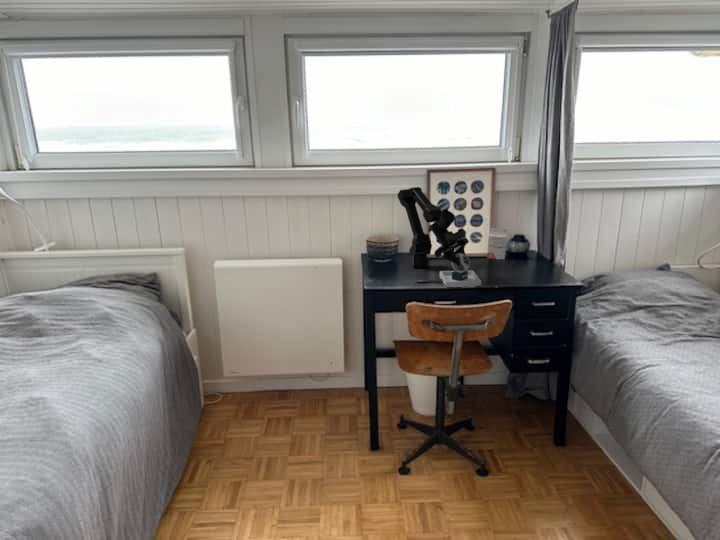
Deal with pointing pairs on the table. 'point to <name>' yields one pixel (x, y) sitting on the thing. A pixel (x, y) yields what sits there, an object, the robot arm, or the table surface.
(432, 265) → the table surface
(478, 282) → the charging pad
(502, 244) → the ink cartridge box
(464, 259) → the watch
